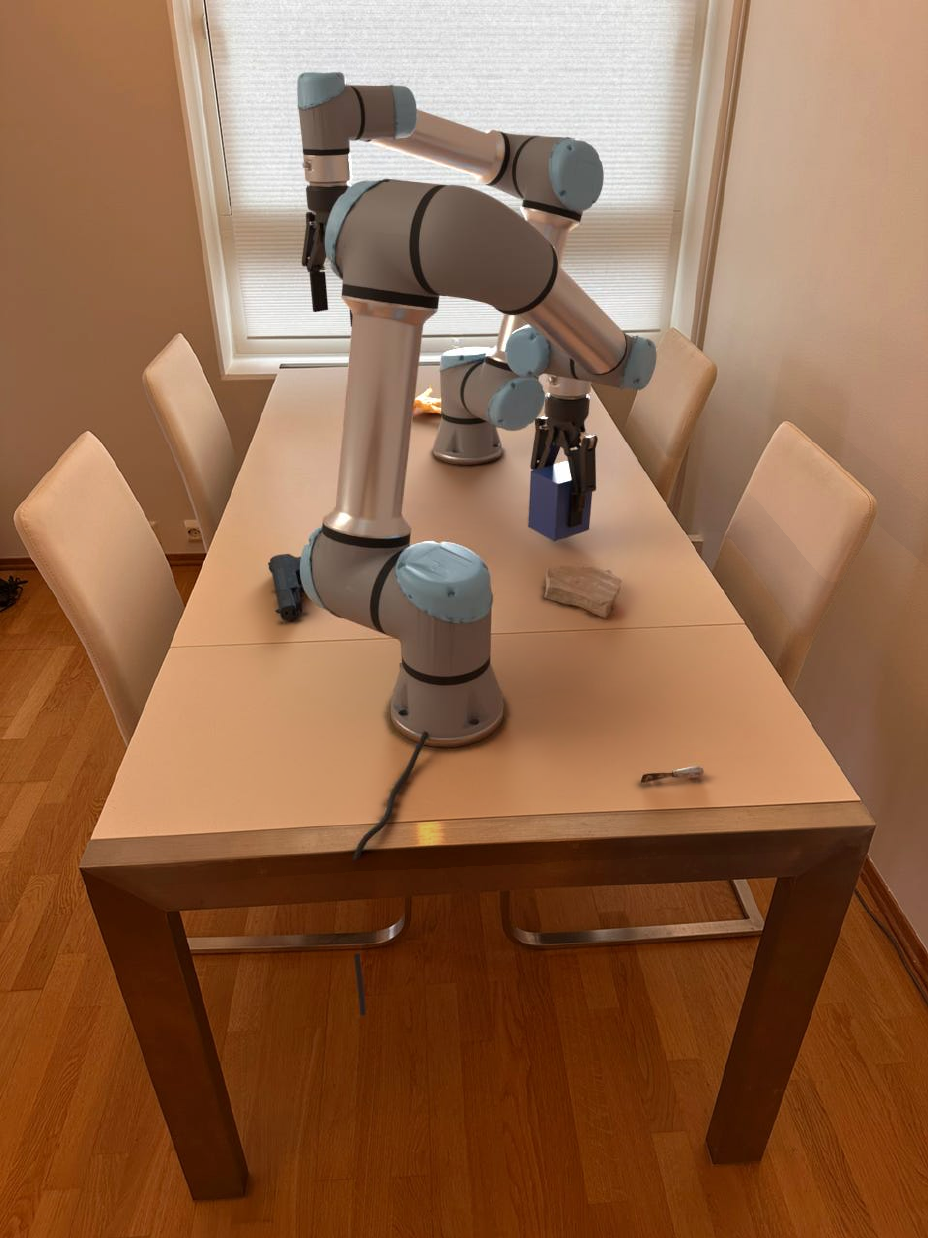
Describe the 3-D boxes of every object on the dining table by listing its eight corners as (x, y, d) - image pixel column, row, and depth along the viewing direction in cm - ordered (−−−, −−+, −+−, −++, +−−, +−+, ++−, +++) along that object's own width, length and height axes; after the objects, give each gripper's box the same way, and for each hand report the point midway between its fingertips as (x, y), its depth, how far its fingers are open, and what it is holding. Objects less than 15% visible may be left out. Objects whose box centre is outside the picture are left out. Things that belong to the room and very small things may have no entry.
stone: (626, 584, 150) (627, 571, 148) (608, 619, 140) (609, 605, 139) (553, 571, 154) (553, 558, 153) (530, 604, 145) (530, 590, 143)
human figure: (395, 413, 223) (394, 398, 221) (438, 390, 237) (438, 375, 235) (462, 429, 215) (462, 413, 213) (502, 404, 229) (503, 388, 227)
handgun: (352, 612, 143) (277, 623, 140) (336, 561, 157) (267, 570, 155) (351, 595, 141) (274, 606, 139) (334, 545, 156) (265, 554, 153)
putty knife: (703, 777, 109) (705, 767, 109) (642, 788, 108) (644, 777, 107) (700, 772, 110) (702, 762, 109) (639, 782, 109) (640, 771, 108)
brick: (562, 516, 168) (565, 460, 162) (589, 529, 163) (594, 473, 157) (527, 527, 164) (530, 470, 158) (554, 541, 158) (558, 483, 153)
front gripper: (512, 382, 155) (508, 503, 167) (592, 413, 141) (582, 542, 153) (545, 375, 159) (539, 494, 171) (626, 404, 145) (613, 532, 157)
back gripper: (273, 178, 151) (287, 307, 162) (346, 192, 134) (356, 336, 145) (313, 175, 155) (324, 301, 166) (389, 188, 138) (395, 329, 149)
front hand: (559, 517), depth 162 cm, fingers closed on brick, 7 cm apart
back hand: (339, 318), depth 156 cm, fingers open, 13 cm apart
